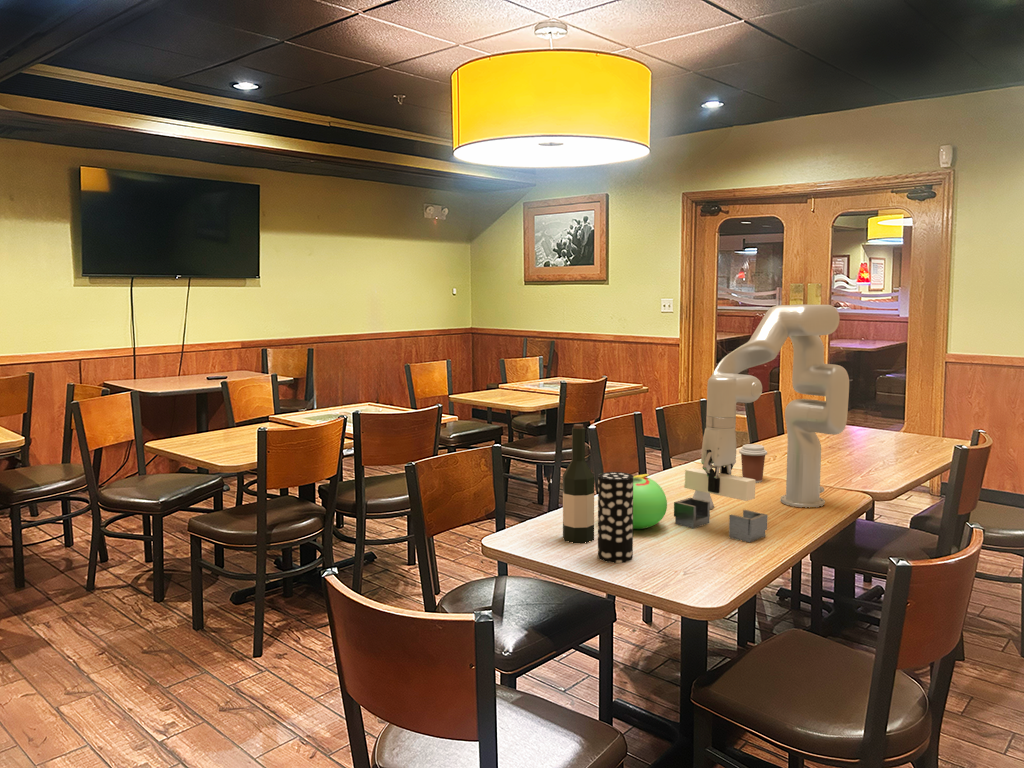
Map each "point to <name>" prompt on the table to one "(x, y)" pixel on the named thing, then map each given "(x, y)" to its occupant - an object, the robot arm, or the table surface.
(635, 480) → the toy bird
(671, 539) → the table surface
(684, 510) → the bracket
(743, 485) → the rail
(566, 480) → the wine bottle
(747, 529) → the bracket
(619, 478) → the white-spotted black cylinder
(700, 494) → the flask
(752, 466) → the coffee cup
